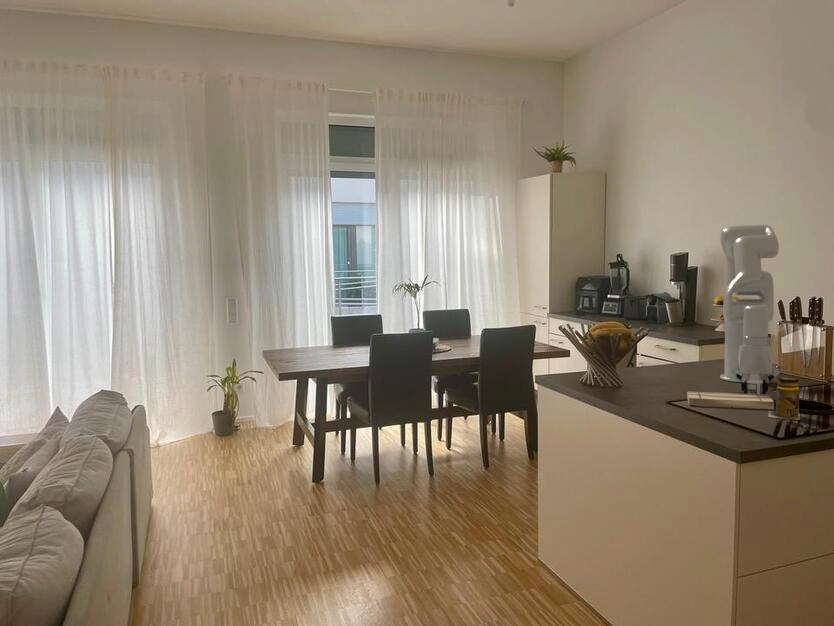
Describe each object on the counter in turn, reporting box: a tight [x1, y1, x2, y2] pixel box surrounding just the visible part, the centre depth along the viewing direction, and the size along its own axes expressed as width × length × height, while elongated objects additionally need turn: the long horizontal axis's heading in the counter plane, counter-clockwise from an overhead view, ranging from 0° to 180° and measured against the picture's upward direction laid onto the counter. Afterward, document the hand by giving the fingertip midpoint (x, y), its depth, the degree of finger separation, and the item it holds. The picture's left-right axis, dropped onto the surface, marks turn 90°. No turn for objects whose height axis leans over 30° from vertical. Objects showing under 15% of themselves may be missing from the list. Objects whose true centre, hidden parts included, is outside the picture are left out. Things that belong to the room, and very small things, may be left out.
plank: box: [686, 391, 775, 411], centre depth 211 cm, size 10×25×3 cm, turn 70°
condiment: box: [767, 376, 801, 421], centre depth 194 cm, size 7×8×12 cm
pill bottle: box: [746, 374, 764, 395], centre depth 216 cm, size 5×5×9 cm
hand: (754, 392), depth 217 cm, fingers closed on pill bottle, 5 cm apart
